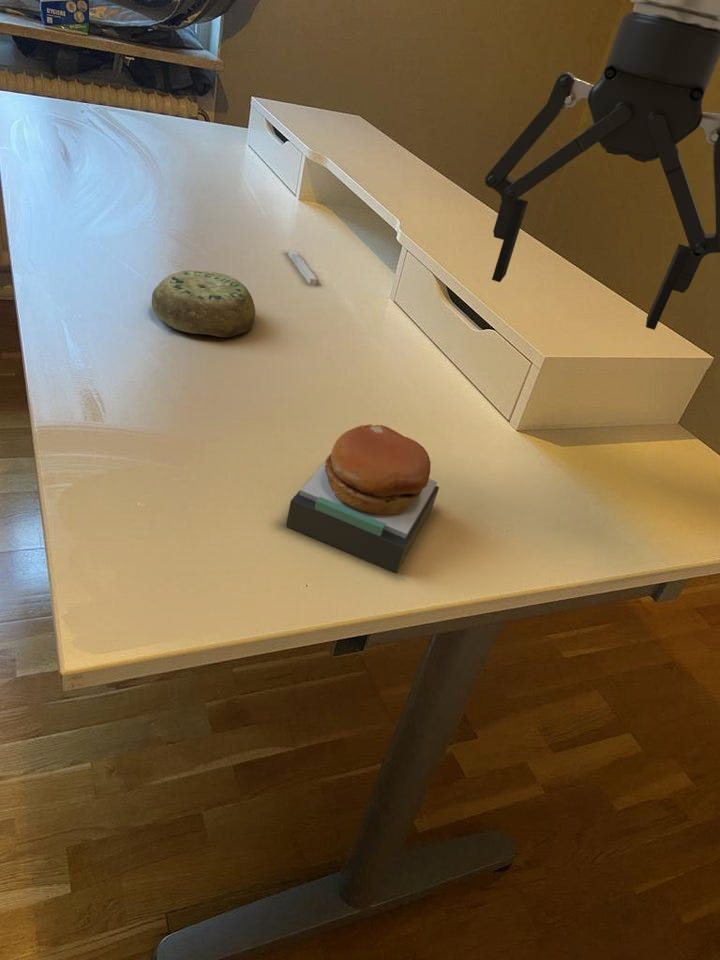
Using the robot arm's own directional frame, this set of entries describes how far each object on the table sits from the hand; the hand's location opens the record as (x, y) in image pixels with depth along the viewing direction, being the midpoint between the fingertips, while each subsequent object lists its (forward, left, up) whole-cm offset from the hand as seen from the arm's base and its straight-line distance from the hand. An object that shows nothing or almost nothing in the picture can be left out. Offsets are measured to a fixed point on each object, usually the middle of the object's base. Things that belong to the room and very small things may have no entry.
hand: (573, 300), depth 65 cm
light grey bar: (+44, -45, -23) cm, 67 cm away
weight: (+45, -16, -23) cm, 53 cm away
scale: (+11, +11, -23) cm, 27 cm away
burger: (+11, +10, -19) cm, 24 cm away
